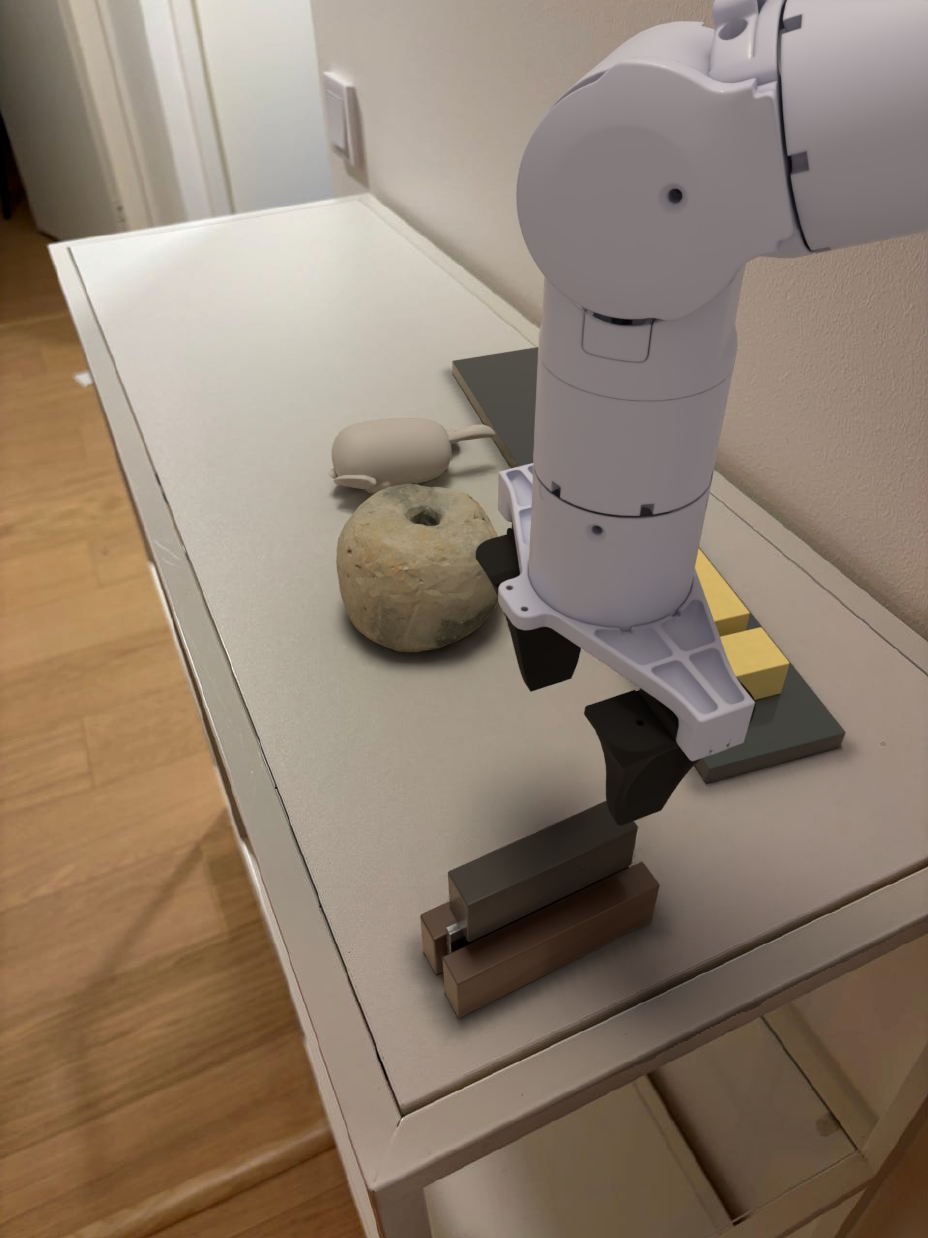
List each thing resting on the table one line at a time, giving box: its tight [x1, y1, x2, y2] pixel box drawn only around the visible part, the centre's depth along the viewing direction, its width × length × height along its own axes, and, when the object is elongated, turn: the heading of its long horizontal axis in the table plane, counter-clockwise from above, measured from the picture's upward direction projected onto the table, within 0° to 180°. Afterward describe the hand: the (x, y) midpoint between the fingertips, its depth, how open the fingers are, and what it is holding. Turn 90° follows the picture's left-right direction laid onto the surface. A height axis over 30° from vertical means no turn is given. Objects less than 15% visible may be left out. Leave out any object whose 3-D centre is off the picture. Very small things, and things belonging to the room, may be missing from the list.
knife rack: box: [419, 861, 661, 1019], centre depth 43 cm, size 4×10×3 cm, turn 117°
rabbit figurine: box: [328, 417, 496, 495], centre depth 70 cm, size 6×5×12 cm
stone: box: [335, 483, 499, 654], centre depth 58 cm, size 10×10×10 cm
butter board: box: [451, 346, 847, 784], centre depth 67 cm, size 46×8×1 cm, turn 17°
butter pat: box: [720, 626, 790, 700], centre depth 53 cm, size 3×4×2 cm
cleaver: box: [446, 800, 639, 955], centre depth 42 cm, size 2×9×7 cm, turn 117°
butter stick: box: [695, 548, 751, 637], centre depth 58 cm, size 7×4×2 cm, turn 17°
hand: (589, 741), depth 40 cm, fingers open, 7 cm apart
